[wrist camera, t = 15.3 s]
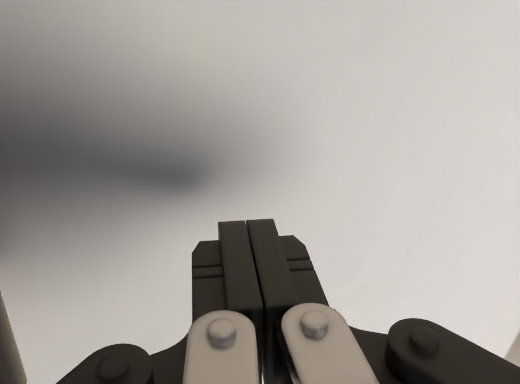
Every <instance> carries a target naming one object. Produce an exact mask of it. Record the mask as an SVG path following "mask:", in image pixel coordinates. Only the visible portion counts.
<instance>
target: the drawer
mask: <svg viewBox="0 0 520 384" xmlns="http://www.w3.org/2000/svg"><path fill="white" fill-rule="evenodd" d="M26 383H27V378H26V374H25V371H24V368H23V364H22V361H21V358H20V355H19V351H18V348H17V345H16V341H15V338H14V335H13V332H12V328H11V325H10V322H9V318H8V315H7V312H6V309H5V305H4V302H3V299H2V295H1V292H0V384H26Z"/></svg>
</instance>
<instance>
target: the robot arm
mask: <svg viewBox="0 0 520 384" xmlns="http://www.w3.org/2000/svg"><path fill="white" fill-rule="evenodd" d="M218 238H219V240H214V241H200V242H199V243H198V245H197V246H196V248H195V249H194V251H193V252H192V325H191V327H190V329H189V332H188V333H187V335H186V336H185V337H184V338H183V339H182V340H181V341H180V342H178V343H177V344H176V345H174V346H172V347H170V348H168V349H166V350H163V351H160V352H158V353H155V354H152V355H149V354H148V353H147V352H146V351H145V350H144V349H142V348H141V347H138V346H136V345H132V344H115V345H110V346H107V347H104V348H102V349H99V350H97V351H96V352H94V353H92V354H91V355H90V356H88V357H87V358H86V359H85V360H83V361H82V362H81V363H80V364H79V365H78V366H76V367H75V368H74V369H73V370H72V371H70V372H69V373H68V374H67V375H66V376H64V377H63V378H62V379H61V380H60V381H58V382H57V383H56V384H262V374H263V380H264V384H520V367H518V366H516V365H514V364H512V363H510V362H508V361H507V360H505V359H503V358H501V357H499V356H497V355H495V354H493V353H491V352H489V351H487V350H486V349H484V348H482V347H480V346H478V345H476V344H474V343H472V342H470V341H468V340H467V339H465V338H463V337H461V336H459V335H457V334H455V333H453V332H451V331H449V330H447V329H446V328H444V327H442V326H440V325H438V324H436V323H433V322H431V321H428V320H423V319H417V318H409V319H403V320H400V321H398V322H396V323H395V324H393V325H392V327H391V328H390V330H389V333H388V334H382V333H375V332H369V331H364V330H359V329H356V328H353V327H351V326H349V325H348V324H347V322H346V321H345V319H344V318H343V316H342V315H341V314H340V313H339V312H337V311H336V310H334V309H333V308H331V307H329V304H328V302H327V299H326V297H325V294H324V292H323V289H322V287H321V284H320V282H319V279H318V277H317V274H316V272H315V270H314V267H313V264H312V262H311V260H310V257H309V254H308V252H307V249H306V247H305V245H304V244H303V243H302V242H300V241H299V240H298V239H297V238H296V237H295V236H293V235H289V236H279V235H278V232H277V229H276V226H275V223H274V220H273V219H258V220H246V224H245V221H244V220H243V221H227V222H218Z"/></svg>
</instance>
